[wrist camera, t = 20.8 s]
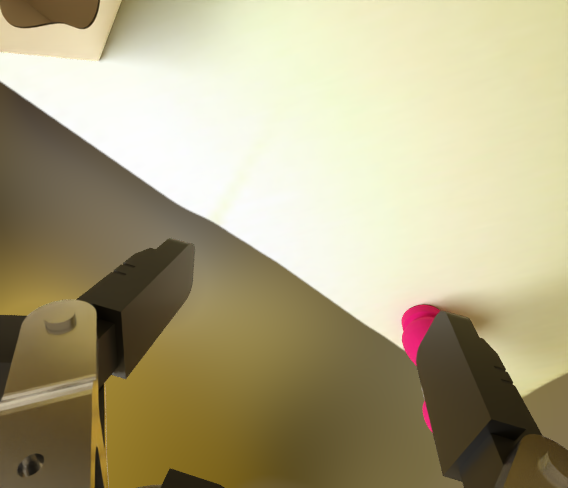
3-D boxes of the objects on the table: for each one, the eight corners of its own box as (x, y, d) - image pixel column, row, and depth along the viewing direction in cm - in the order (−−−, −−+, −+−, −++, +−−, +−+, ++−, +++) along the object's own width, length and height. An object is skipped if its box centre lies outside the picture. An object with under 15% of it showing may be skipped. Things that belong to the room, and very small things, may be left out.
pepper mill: (453, 304, 46) (517, 437, 29) (441, 341, 50) (492, 480, 32) (402, 298, 48) (434, 424, 30) (394, 335, 51) (418, 466, 33)
